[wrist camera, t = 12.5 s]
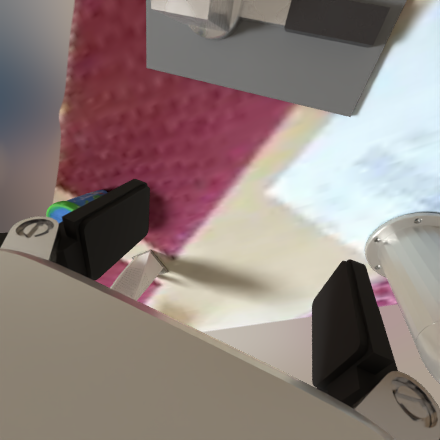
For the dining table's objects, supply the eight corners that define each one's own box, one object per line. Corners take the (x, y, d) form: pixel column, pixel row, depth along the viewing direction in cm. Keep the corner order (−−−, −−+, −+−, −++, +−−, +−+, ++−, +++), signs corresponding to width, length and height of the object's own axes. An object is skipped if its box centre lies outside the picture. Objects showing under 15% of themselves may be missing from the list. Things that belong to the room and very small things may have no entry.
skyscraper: (129, 252, 56) (12, 372, 33) (150, 243, 52) (33, 372, 29) (150, 276, 58) (55, 402, 36) (171, 270, 54) (80, 406, 32)
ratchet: (396, -17, 21) (431, -50, 16) (357, 71, 25) (373, 69, 20) (191, -49, 24) (158, -87, 18) (185, 34, 28) (157, 23, 22)
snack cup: (122, 173, 44) (80, 196, 35) (147, 219, 48) (116, 249, 40) (72, 190, 50) (27, 212, 42) (98, 229, 54) (62, 256, 46)
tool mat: (454, -105, 18) (460, -112, 18) (349, 116, 28) (350, 116, 28) (149, -135, 22) (145, -142, 22) (149, 67, 32) (146, 67, 31)
